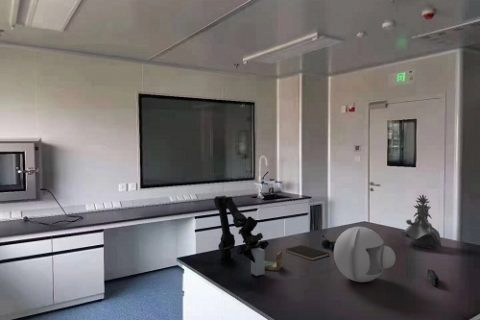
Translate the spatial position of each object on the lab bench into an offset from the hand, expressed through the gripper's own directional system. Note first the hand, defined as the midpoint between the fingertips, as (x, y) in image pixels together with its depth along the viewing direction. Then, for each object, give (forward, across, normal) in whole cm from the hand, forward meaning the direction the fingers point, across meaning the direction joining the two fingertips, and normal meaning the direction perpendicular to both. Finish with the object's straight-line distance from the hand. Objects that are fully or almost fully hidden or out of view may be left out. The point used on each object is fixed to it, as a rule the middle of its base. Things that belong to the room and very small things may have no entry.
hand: (259, 261), depth 192 cm
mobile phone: (+46, +67, -35) cm, 89 cm away
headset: (-2, +72, +15) cm, 73 cm away
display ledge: (+1, +13, +11) cm, 17 cm away
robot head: (+31, +40, -20) cm, 55 cm away
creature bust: (+19, +124, -7) cm, 126 cm away
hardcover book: (-4, +48, +16) cm, 51 cm away
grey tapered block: (+4, 0, +6) cm, 7 cm away
